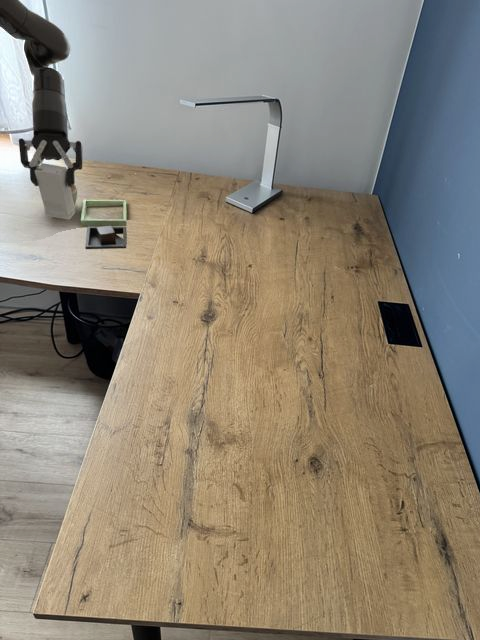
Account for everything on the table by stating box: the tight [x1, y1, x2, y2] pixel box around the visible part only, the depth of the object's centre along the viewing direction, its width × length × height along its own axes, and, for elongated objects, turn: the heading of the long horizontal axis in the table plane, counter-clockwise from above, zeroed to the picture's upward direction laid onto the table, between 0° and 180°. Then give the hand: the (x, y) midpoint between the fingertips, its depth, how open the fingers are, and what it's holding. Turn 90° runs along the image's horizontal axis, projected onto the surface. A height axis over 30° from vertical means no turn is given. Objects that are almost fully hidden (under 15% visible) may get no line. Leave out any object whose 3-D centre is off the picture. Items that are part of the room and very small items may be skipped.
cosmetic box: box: [35, 162, 76, 220], centre depth 121 cm, size 6×4×12 cm
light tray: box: [80, 199, 128, 228], centre depth 150 cm, size 13×13×3 cm
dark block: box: [97, 226, 116, 245], centre depth 139 cm, size 4×4×4 cm
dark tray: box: [84, 226, 128, 250], centre depth 140 cm, size 11×11×3 cm
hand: (53, 185), depth 118 cm, fingers closed on cosmetic box, 7 cm apart
